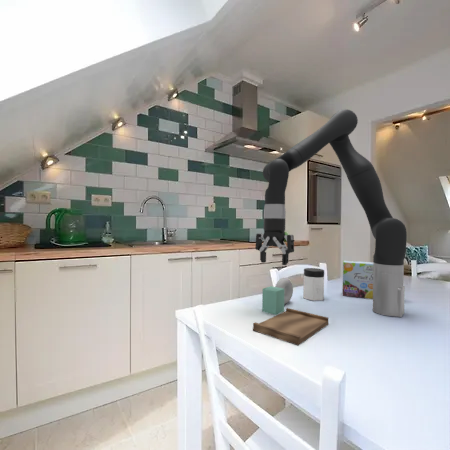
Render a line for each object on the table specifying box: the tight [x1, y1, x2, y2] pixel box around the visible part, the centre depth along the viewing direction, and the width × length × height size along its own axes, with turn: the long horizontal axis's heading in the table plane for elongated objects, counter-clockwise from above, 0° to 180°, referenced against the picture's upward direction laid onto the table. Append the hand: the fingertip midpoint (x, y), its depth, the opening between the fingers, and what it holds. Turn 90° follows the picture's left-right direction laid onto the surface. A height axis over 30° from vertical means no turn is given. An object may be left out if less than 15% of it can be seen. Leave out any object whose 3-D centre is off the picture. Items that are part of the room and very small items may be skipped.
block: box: [261, 285, 285, 316], centre depth 95 cm, size 6×6×8 cm
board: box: [252, 307, 329, 346], centre depth 80 cm, size 14×20×2 cm
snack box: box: [341, 260, 373, 300], centre depth 116 cm, size 21×6×15 cm, turn 68°
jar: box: [302, 267, 325, 302], centre depth 113 cm, size 9×8×12 cm
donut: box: [274, 277, 294, 305], centre depth 105 cm, size 10×4×10 cm, turn 135°
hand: (273, 263), depth 95 cm, fingers open, 8 cm apart
